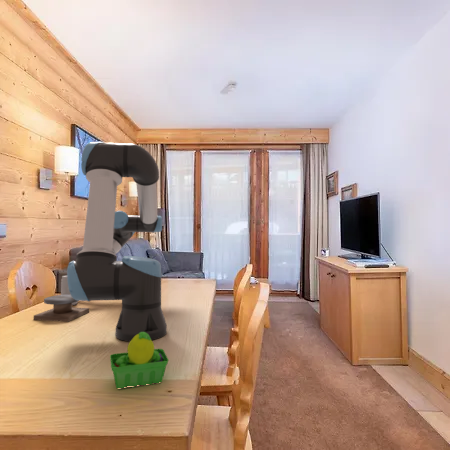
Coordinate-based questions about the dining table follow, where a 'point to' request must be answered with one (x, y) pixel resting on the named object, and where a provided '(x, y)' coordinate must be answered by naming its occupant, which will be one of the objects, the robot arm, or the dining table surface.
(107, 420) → the dining table surface
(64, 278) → the beverage can
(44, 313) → the pedestal stand
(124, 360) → the fruit basket
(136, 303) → the robot arm
